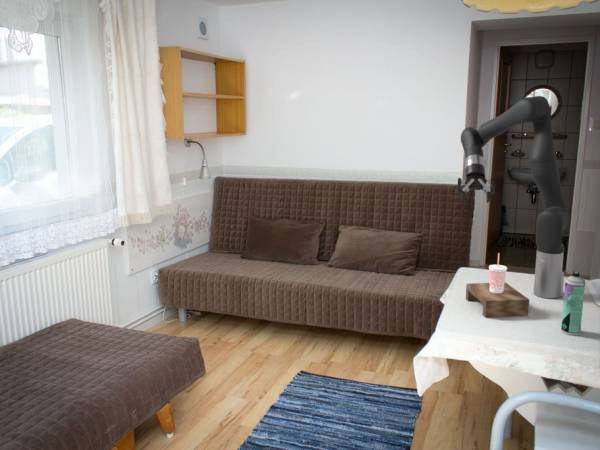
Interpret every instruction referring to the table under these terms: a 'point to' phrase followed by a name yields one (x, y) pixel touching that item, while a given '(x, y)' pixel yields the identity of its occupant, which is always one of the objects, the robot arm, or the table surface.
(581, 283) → the spray can
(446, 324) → the table surface
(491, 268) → the beverage cup
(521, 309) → the walnut shelf stand
